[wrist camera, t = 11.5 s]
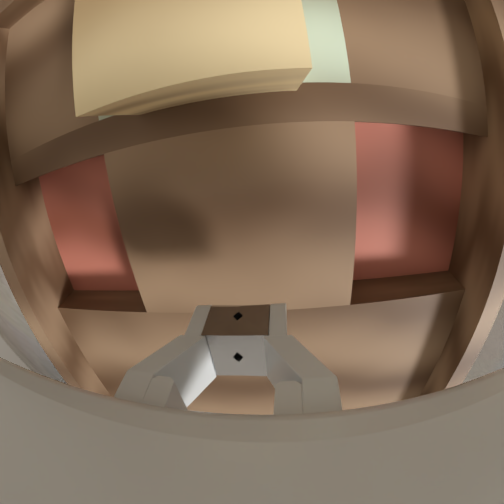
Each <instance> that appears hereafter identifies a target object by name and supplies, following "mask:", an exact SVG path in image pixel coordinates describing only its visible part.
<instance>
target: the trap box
mask: <svg viewBox="0 0 504 504" xmlns="http://www.w3.org/2000/svg"><path fill="white" fill-rule="evenodd" d="M301 1H302V6H303V11H304V17H305V22H306V28H307V34H308V40H309V47H310V54H311V61H312V69H311V71H310V72H309V74H308V75H307V76H306V78H305V79H304V81H303V82H302V84H301V85H300V87H299V88H298V89H297V91H278V92H265V93H254V94H245V95H236V96H229V97H222V98H215V99H209V100H203V101H198V102H193V103H188V104H183V105H178V106H173V107H169V108H165V109H161V110H156V111H152V112H149V113H145V114H141V115H105V116H85V117H76V114H75V104H74V92H73V73H72V34H73V16H74V5H75V0H0V265H1V268H2V270H3V272H4V275H5V277H6V280H7V282H8V284H9V286H10V289H11V291H12V293H13V295H14V297H15V299H16V301H17V303H18V305H19V307H20V309H21V311H22V313H23V315H24V317H25V319H26V321H27V323H28V324H29V326H30V328H31V330H32V331H33V333H34V335H35V337H36V338H37V340H38V342H39V343H40V345H41V346H42V348H43V350H44V351H45V353H46V354H47V356H48V357H49V359H50V360H51V362H52V363H53V365H54V366H55V368H56V369H57V371H58V372H59V373H60V375H61V376H62V377H63V379H64V380H65V382H66V383H67V384H68V385H71V386H75V387H78V388H81V389H85V390H88V391H92V392H95V393H99V394H103V395H107V396H111V397H114V395H115V393H116V391H117V389H118V387H119V386H120V384H121V382H122V380H123V378H124V376H125V374H126V372H127V370H129V369H130V368H132V367H133V366H135V365H136V364H138V363H139V362H141V361H142V360H144V359H145V358H147V357H148V356H150V355H151V354H153V353H154V352H156V351H157V350H159V349H160V348H162V347H163V346H165V345H166V344H168V343H169V342H171V341H172V340H174V339H175V338H177V337H178V336H180V335H185V332H186V330H187V327H188V325H189V323H190V320H191V318H192V315H193V313H194V311H195V308H196V307H197V306H198V305H264V304H275V303H286V310H287V335H292V336H294V337H295V338H296V339H297V340H298V341H299V342H300V343H301V344H302V345H303V346H304V347H305V348H306V349H307V350H308V351H309V352H311V353H312V354H313V355H314V356H315V357H316V358H317V359H318V360H319V361H320V362H321V363H322V364H323V365H325V366H326V367H327V368H328V369H329V370H330V371H331V372H332V373H333V374H334V375H335V376H337V380H338V386H339V392H340V398H341V404H342V410H348V409H355V408H362V407H369V406H375V405H381V404H386V403H391V402H396V401H401V400H405V399H410V398H414V397H418V396H422V395H426V394H430V393H434V392H437V391H441V390H444V389H447V388H451V387H454V386H457V385H460V384H462V382H463V381H464V379H465V377H466V376H467V374H468V372H469V371H470V369H471V367H472V365H473V364H474V362H475V360H476V358H477V356H478V355H479V353H480V351H481V349H482V347H483V345H484V343H485V341H486V339H487V337H488V335H489V332H490V330H491V328H492V326H493V324H494V321H495V319H496V317H497V314H498V312H499V309H500V307H501V304H502V302H503V299H504V0H301ZM274 397H275V388H274V386H273V385H272V383H271V382H270V380H269V379H268V377H267V376H242V375H216V378H215V379H214V380H213V381H212V382H211V383H210V384H209V385H208V386H207V387H206V388H205V389H204V390H203V391H202V392H201V393H200V394H199V395H198V397H197V398H196V399H195V400H194V401H193V402H192V403H191V404H190V405H189V406H188V407H187V409H188V410H190V411H200V412H211V413H226V414H250V415H273V414H274Z"/></svg>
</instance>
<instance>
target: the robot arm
mask: <svg viewBox="0 0 504 504" xmlns="http://www.w3.org/2000/svg"><path fill="white" fill-rule="evenodd" d="M216 375H242V376H267V377H268V379H269V380H270V382H271V383H272V385H273V386H274V388H275V397H274V414H273V415H250V414H226V413H211V412H200V411H190V410H188V409H187V407H188V406H189V405H190V404H191V403H192V402H193V401H194V400H195V399H196V398H197V397H198V395H199V394H200V393H201V392H202V391H203V390H204V389H205V388H206V387H207V386H208V385H209V384H210V383H211V382H212V381H213V380H214V379H215V378H216ZM0 504H504V368H502V369H500V370H497V371H495V372H492V373H490V374H487V375H485V376H482V377H480V378H477V379H474V380H471V381H469V382H466V383H463V384H460V385H457V386H454V387H451V388H447V389H444V390H441V391H437V392H434V393H430V394H426V395H422V396H418V397H414V398H410V399H405V400H401V401H396V402H391V403H386V404H381V405H375V406H369V407H362V408H355V409H348V410H342V404H341V398H340V392H339V386H338V380H337V376H335V375H334V374H333V373H332V372H331V371H330V370H329V369H328V368H327V367H326V366H325V365H323V364H322V363H321V362H320V361H319V360H318V359H317V358H316V357H315V356H314V355H313V354H312V353H311V352H309V351H308V350H307V349H306V348H305V347H304V346H303V345H302V344H301V343H300V342H299V341H298V340H297V339H296V338H295V337H294V336H292V335H287V310H286V303H275V304H264V305H198V306H197V307H196V308H195V311H194V313H193V315H192V318H191V320H190V323H189V325H188V327H187V330H186V332H185V335H180V336H178V337H177V338H175V339H174V340H172V341H171V342H169V343H168V344H166V345H165V346H163V347H162V348H160V349H159V350H157V351H156V352H154V353H153V354H151V355H150V356H148V357H147V358H145V359H144V360H142V361H141V362H139V363H138V364H136V365H135V366H133V367H132V368H130V369H129V370H127V372H126V374H125V376H124V378H123V380H122V382H121V384H120V386H119V387H118V389H117V391H116V393H115V395H114V397H111V396H107V395H103V394H99V393H95V392H92V391H88V390H85V389H81V388H78V387H75V386H71V385H68V384H65V383H62V382H59V381H56V380H53V379H51V378H48V377H45V376H43V375H40V374H37V373H35V372H32V371H30V370H27V369H25V368H23V367H20V366H18V365H16V364H13V363H11V362H9V361H7V360H5V359H3V358H1V357H0Z"/></svg>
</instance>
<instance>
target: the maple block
mask: <svg viewBox="0 0 504 504" xmlns="http://www.w3.org/2000/svg"><path fill="white" fill-rule="evenodd" d="M311 69H312V61H311V54H310V47H309V40H308V34H307V28H306V22H305V17H304V11H303V6H302V1H301V0H75V5H74V16H73V34H72V73H73V92H74V104H75V114H76V117H85V116H105V115H141V114H145V113H149V112H152V111H156V110H161V109H165V108H169V107H173V106H178V105H183V104H188V103H193V102H198V101H203V100H209V99H215V98H222V97H229V96H236V95H245V94H254V93H265V92H278V91H297V89H298V88H299V87H300V85H301V84H302V82H303V81H304V79H305V78H306V76H307V75H308V74H309V72H310V71H311Z"/></svg>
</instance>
